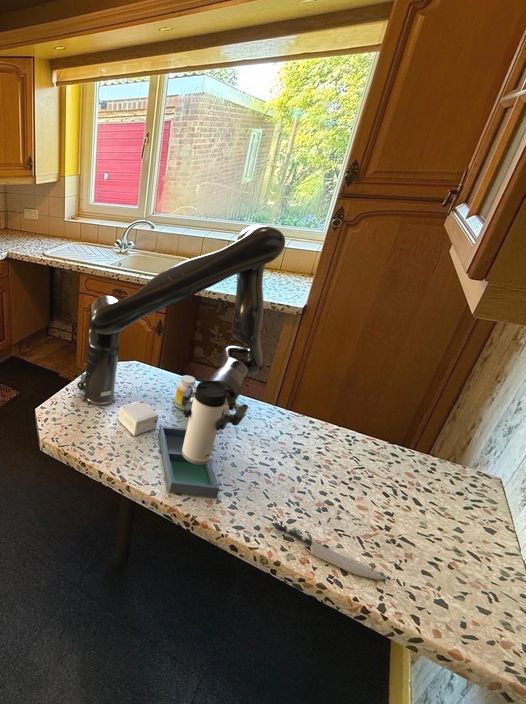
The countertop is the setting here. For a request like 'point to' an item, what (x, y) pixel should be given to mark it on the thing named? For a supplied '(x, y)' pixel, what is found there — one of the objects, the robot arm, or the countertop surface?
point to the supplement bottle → (183, 389)
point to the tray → (185, 466)
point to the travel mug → (204, 421)
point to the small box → (138, 417)
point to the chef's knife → (333, 556)
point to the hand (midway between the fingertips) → (202, 420)
